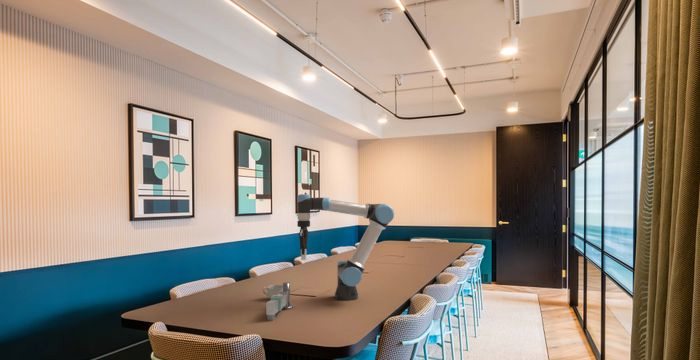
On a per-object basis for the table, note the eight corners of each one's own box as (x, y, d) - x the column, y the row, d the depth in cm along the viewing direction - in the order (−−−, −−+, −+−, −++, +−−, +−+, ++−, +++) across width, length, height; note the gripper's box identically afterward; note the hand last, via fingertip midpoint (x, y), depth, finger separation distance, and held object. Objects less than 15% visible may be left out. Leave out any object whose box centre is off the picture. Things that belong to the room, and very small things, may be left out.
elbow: (280, 306, 231) (280, 290, 232) (288, 307, 230) (288, 291, 231) (272, 312, 219) (272, 295, 220) (280, 313, 218) (280, 296, 219)
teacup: (286, 297, 258) (287, 284, 258) (282, 301, 247) (282, 288, 248) (265, 296, 259) (265, 284, 260) (260, 301, 249) (260, 287, 249)
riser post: (281, 305, 238) (281, 281, 238) (294, 306, 236) (295, 281, 237) (277, 309, 230) (277, 284, 231) (290, 309, 229) (290, 284, 229)
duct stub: (272, 315, 218) (272, 296, 219) (281, 315, 217) (281, 296, 218) (265, 320, 208) (265, 301, 208) (274, 321, 207) (274, 301, 208)
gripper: (300, 219, 249) (300, 258, 248) (294, 220, 236) (294, 261, 235) (312, 219, 248) (312, 258, 247) (306, 220, 235) (306, 261, 234)
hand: (303, 259), depth 241 cm, fingers closed
